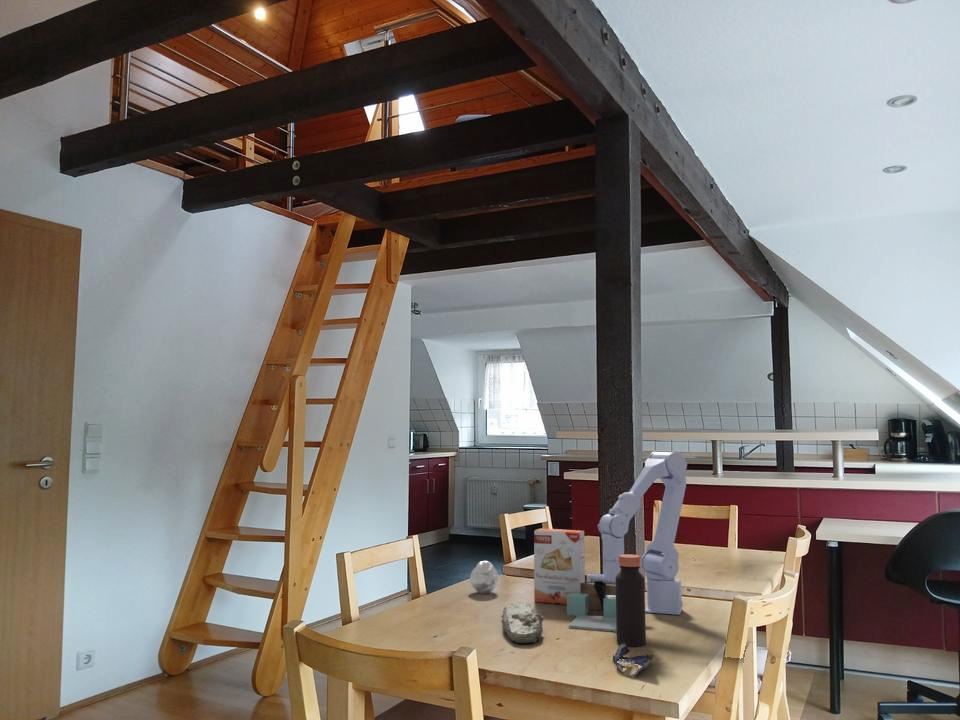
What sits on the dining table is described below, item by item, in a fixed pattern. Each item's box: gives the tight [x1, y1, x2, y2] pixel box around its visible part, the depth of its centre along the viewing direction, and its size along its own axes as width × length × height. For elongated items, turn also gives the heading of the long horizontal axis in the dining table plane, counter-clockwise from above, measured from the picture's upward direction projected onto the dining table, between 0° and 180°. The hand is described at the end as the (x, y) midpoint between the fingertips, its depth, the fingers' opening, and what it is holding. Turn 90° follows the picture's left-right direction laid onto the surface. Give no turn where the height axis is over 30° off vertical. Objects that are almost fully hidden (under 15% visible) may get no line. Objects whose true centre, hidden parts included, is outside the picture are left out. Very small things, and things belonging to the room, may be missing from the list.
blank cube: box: [566, 593, 590, 617], centre depth 204 cm, size 5×5×5 cm
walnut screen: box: [580, 582, 616, 611], centre depth 208 cm, size 13×4×7 cm, turn 70°
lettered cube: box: [603, 595, 616, 618], centre depth 200 cm, size 5×5×5 cm
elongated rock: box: [501, 602, 544, 644], centre depth 189 cm, size 35×5×10 cm
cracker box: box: [533, 528, 586, 606], centre depth 218 cm, size 14×6×21 cm, turn 68°
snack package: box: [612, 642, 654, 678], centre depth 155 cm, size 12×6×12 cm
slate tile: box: [568, 615, 616, 633], centre depth 192 cm, size 12×12×1 cm
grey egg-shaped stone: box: [469, 560, 500, 594], centre depth 231 cm, size 9×10×10 cm
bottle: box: [615, 553, 647, 648], centre depth 175 cm, size 7×7×20 cm
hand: (614, 611), depth 200 cm, fingers closed on lettered cube, 5 cm apart
